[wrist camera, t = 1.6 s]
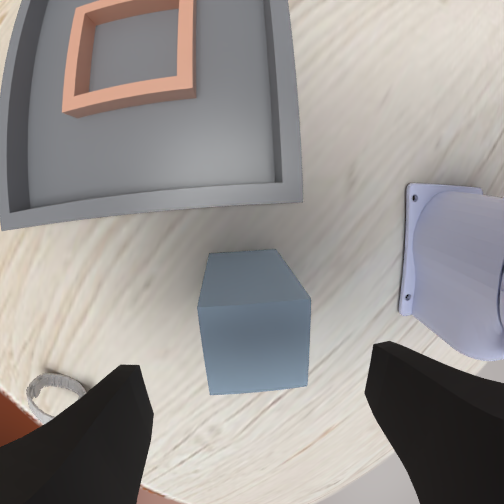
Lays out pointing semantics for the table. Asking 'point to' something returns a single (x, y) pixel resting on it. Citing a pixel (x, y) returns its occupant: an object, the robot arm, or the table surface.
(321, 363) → the table surface
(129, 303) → the table surface
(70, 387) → the grey ring
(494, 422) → the robot arm
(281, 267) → the block
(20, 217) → the gray tray
